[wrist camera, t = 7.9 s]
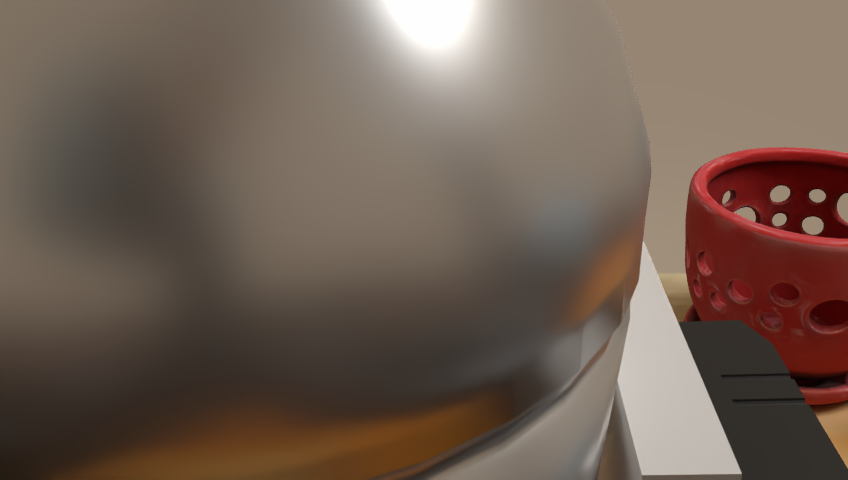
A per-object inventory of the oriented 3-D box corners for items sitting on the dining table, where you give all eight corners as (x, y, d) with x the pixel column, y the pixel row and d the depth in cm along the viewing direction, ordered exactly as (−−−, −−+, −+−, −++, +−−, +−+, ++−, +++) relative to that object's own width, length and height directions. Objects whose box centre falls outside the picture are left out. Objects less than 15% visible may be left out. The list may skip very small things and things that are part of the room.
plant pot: (651, 395, 45) (663, 213, 40) (700, 292, 55) (715, 135, 50) (905, 460, 39) (959, 255, 34) (909, 331, 49) (951, 156, 44)
